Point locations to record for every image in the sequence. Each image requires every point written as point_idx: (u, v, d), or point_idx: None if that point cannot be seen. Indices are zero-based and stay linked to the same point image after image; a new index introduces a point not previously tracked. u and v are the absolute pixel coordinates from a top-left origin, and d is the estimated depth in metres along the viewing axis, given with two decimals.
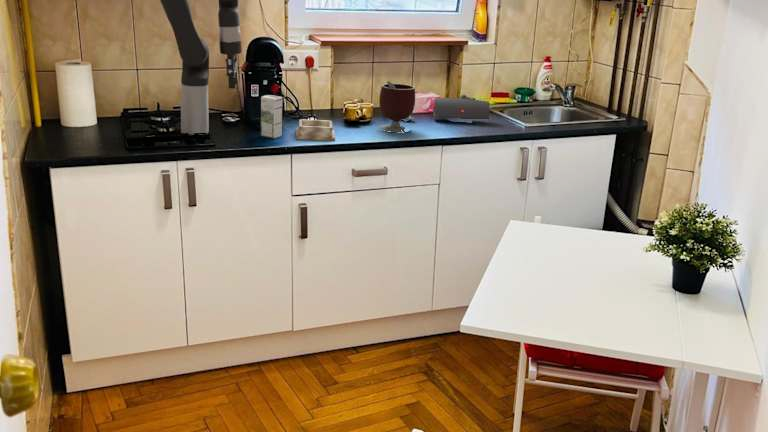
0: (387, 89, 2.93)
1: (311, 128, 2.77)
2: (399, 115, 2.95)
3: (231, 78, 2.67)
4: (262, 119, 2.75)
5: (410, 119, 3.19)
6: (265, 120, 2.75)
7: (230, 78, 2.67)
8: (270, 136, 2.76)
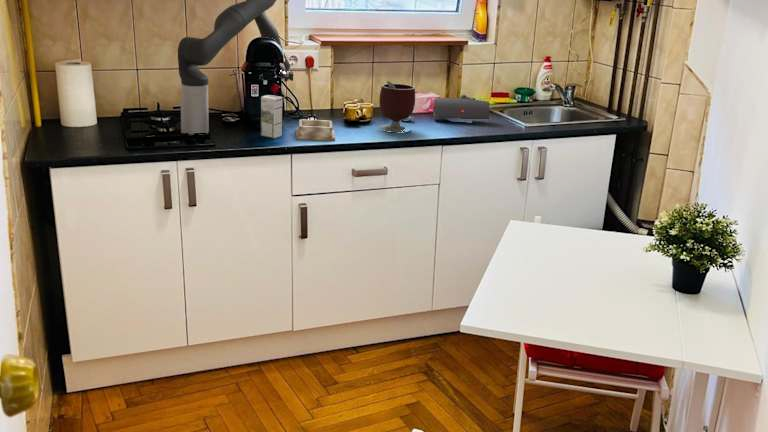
0: (387, 89, 2.93)
1: (311, 128, 2.77)
2: (399, 115, 2.95)
3: (288, 77, 2.88)
4: (262, 119, 2.75)
5: (409, 119, 3.19)
6: (265, 120, 2.75)
7: (288, 76, 2.88)
8: (270, 136, 2.76)
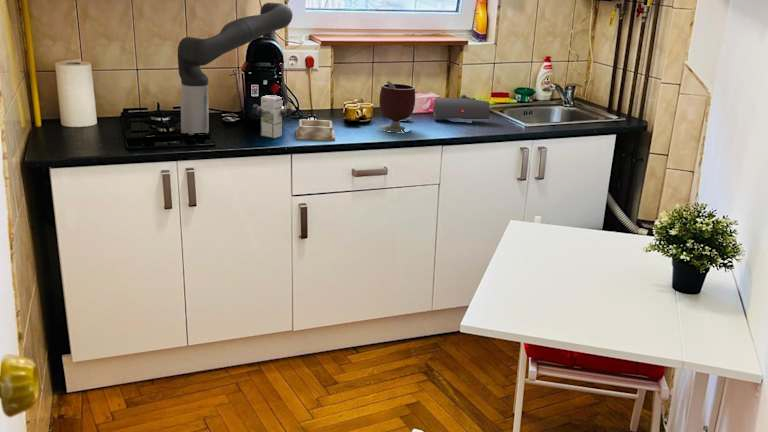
0: (387, 89, 2.93)
1: (311, 128, 2.77)
2: (399, 115, 2.95)
3: (286, 112, 2.78)
4: (262, 119, 2.75)
5: (407, 119, 3.18)
6: (265, 120, 2.75)
7: (286, 111, 2.78)
8: (270, 136, 2.76)
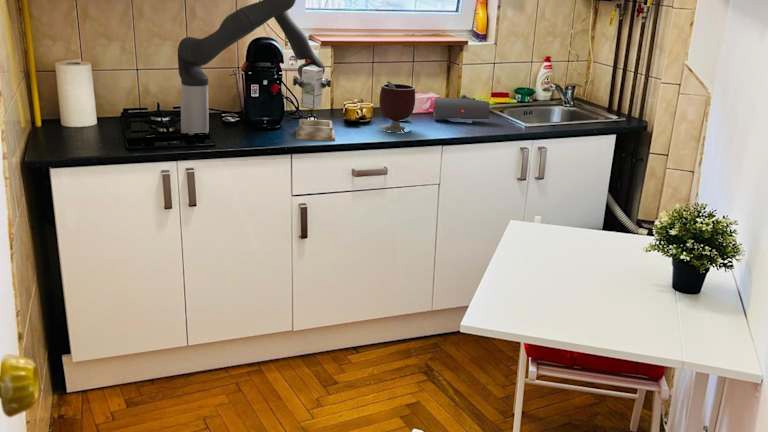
0: (387, 89, 2.93)
1: (311, 128, 2.77)
2: (399, 115, 2.95)
3: (326, 84, 2.80)
4: (303, 90, 2.77)
5: (406, 119, 3.18)
6: (306, 91, 2.76)
7: (326, 83, 2.80)
8: (311, 107, 2.78)
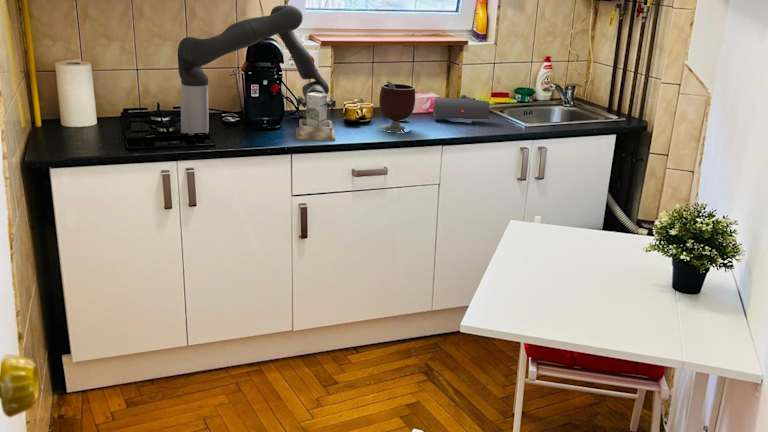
0: (387, 89, 2.93)
1: (311, 128, 2.77)
2: (399, 115, 2.95)
3: (331, 104, 2.83)
4: (307, 116, 2.81)
5: (404, 119, 3.18)
6: (311, 117, 2.80)
7: (331, 103, 2.83)
8: None
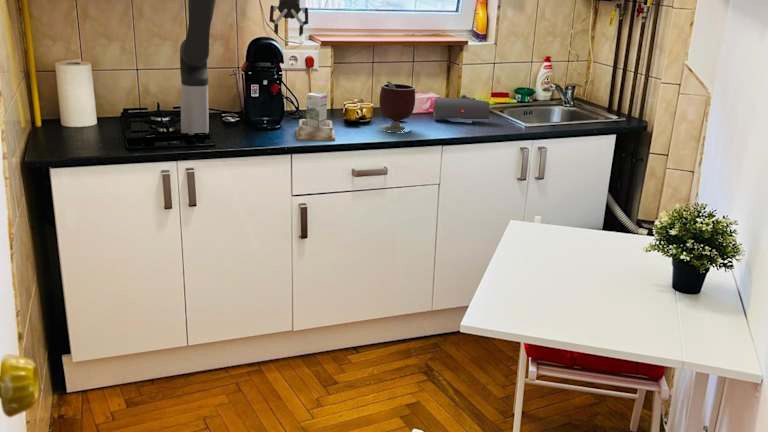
0: (387, 89, 2.93)
1: (311, 128, 2.77)
2: (399, 115, 2.95)
3: None
4: (307, 116, 2.81)
5: None
6: (311, 117, 2.80)
7: None
8: None
